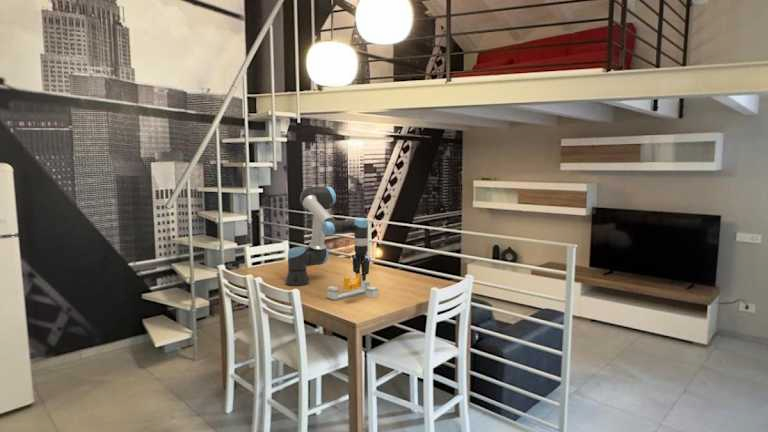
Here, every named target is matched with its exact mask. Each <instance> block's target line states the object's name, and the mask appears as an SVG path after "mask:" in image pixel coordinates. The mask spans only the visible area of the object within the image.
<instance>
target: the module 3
mask: <svg viewBox="0 0 768 432" xmlns="http://www.w3.org/2000/svg"><path fill="white" fill-rule="evenodd" d="M378 293H379V289H378V287H376V286H370V287H368V288H366V294H365V297H367V298H368V297H369V298H371V299H372V298H375V297H378Z"/></svg>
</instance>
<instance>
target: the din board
mask: <svg viewBox="0 0 768 432" xmlns="http://www.w3.org/2000/svg"><path fill="white" fill-rule="evenodd" d="M361 295H366V291H364V290H361V289H360V290H359V288H357V289H353V290H348V291H346V292H342V293H341V292H340V293H338V298H336V299H332V298H329V297H328V296H326V299H327V300H331V301H334V302H337V301H341V300H344V299H349V298H353V297H357V296H361Z"/></svg>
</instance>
